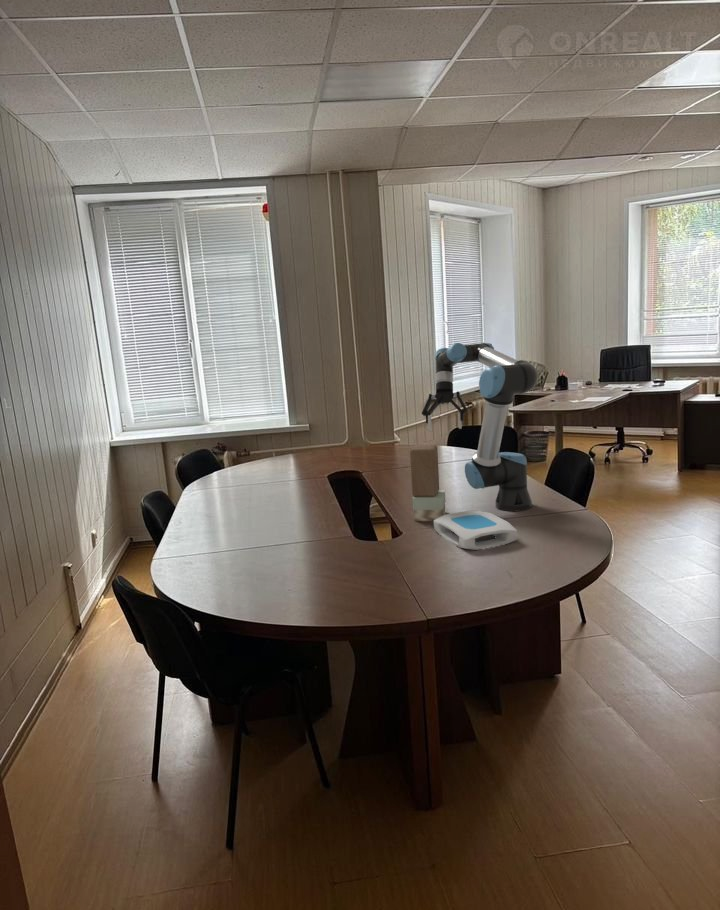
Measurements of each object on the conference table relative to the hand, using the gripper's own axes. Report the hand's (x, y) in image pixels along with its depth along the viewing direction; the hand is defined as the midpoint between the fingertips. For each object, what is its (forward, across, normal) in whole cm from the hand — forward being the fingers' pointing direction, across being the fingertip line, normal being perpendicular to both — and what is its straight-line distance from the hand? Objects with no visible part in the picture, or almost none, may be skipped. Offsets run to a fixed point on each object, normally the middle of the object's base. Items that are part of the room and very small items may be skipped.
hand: (444, 429), depth 290 cm
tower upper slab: (+34, +5, +7) cm, 36 cm away
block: (+30, +6, +9) cm, 32 cm away
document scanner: (+50, -18, +26) cm, 59 cm away
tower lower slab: (+39, +5, +6) cm, 40 cm away
